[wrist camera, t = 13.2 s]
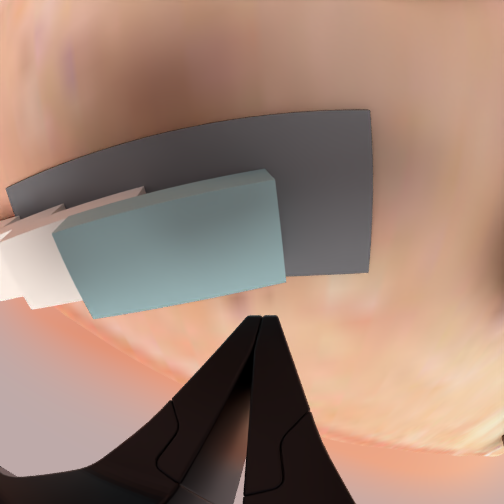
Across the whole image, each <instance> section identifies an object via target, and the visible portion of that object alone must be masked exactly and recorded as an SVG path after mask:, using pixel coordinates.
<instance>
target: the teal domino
mask: <svg viewBox="0 0 504 504" xmlns="http://www.w3.org/2000/svg"><path fill="white" fill-rule="evenodd" d="M52 236H53V238H54V241H55V243H56V245H57V248H58V250H59V252H60V254H61V257H62V259H63V261H64V263H65V265H66V268H67V270H68V272H69V274H70V276H71V278H72V280H73V282H74V284H75V286H76V288H77V290H78V292H79V294H80V296H81V297H82V299H83V301H84V303H85V305H86V307H87V308H88V310H89V312H90V314H91V316H92V317H93V319H98V318H104V317H110V316H116V315H122V314H128V313H134V312H140V311H146V310H151V309H157V308H162V307H168V306H173V305H178V304H184V303H189V302H194V301H199V300H204V299H209V298H214V297H219V296H224V295H229V294H234V293H238V292H243V291H248V290H253V289H257V288H262V287H266V286H271V285H275V284H280V283H284V282H286V275H285V265H284V255H283V245H282V236H281V227H280V218H279V209H278V200H277V192H276V184H275V179H274V178H273V177H272V176H271V175H270V174H269V173H268V171H267V170H266V169H259V170H254V171H248V172H243V173H237V174H232V175H227V176H222V177H217V178H212V179H207V180H202V181H198V182H193V183H189V184H184V185H180V186H175V187H171V188H167V189H163V190H159V191H155V192H151V193H147V194H143V195H139V196H135V197H132V198H128V199H124V200H121V201H117V202H114V203H110V204H107V205H103V206H100V207H97V208H93V209H90V210H87V211H84V212H80V213H77V214H74V215H71V216H68V217H67V218H66V219H65V220H64V221H63V222H62V223H61V224H60V225H59V226H58V227H57V228H56V229H55V230H54V231H53V233H52Z"/></svg>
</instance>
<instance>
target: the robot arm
mask: <svg viewBox="0 0 504 504" xmlns="http://www.w3.org/2000/svg"><path fill="white" fill-rule="evenodd" d="M245 459H246V467H245V481H244V493H243V494H244V496H245V497H243V504H356V503H355V502H354V500H353V499H352V497H351V495H350V493H349V491H348V489H347V488H346V486H345V484H344V482H343V480H342V479H341V477H340V475H339V473H338V471H337V470H336V468H335V466H334V464H333V462H332V460H331V459H330V457H329V455H328V452H327V450H326V448H325V446H324V445H323V442H322V440H321V437H320V435H319V432H318V430H317V427H316V424H315V422H314V419H313V416H312V413H311V412H310V407H309V405H308V402H307V399H306V396H305V393H304V390H303V387H302V384H301V381H300V379H299V376H298V373H297V370H296V367H295V364H294V361H293V358H292V355H291V353H290V350H289V347H288V344H287V341H286V338H285V335H284V332H283V330H282V327H281V324H280V321H279V318H278V316H276V315H265V316H263V317H262V316H260V315H250V316H247V317H246V318H245V319H244V320H243V322H242V323H241V324H240V325H239V326H238V327H237V328H236V329H235V331H234V332H233V333H232V334H231V335H230V336H229V337H228V338H227V339H226V341H225V342H224V343H223V344H222V345H221V346H220V347H219V348H218V349H217V351H216V352H215V353H214V354H213V355H212V356H211V357H210V358H209V359H208V360H207V361H206V363H205V364H204V365H203V366H202V367H201V368H200V369H199V370H198V371H197V372H196V373H195V374H194V376H193V377H192V378H191V379H190V380H189V381H188V382H187V383H186V384H185V385H184V386H183V387H182V388H181V389H180V390H179V392H178V393H177V394H176V395H175V396H174V397H173V398H172V400H170V401H169V402H168V403H167V404H166V405H165V406H164V407H163V408H162V409H161V410H160V411H159V412H158V413H157V414H156V415H155V416H154V417H153V418H152V419H151V420H150V421H149V422H148V423H146V424H145V425H144V426H143V427H142V428H140V429H139V430H138V431H137V432H136V433H135V434H133V435H132V436H131V437H129V438H128V439H127V440H126V441H124V442H123V443H122V444H121V445H119V446H118V447H117V448H115V449H114V450H113V451H111V452H110V453H109V454H107V455H106V456H105V457H103V458H102V459H100V460H99V461H97V462H96V463H94V464H92V465H90V466H87V467H84V468H81V469H77V470H72V471H66V472H59V473H53V474H45V475H37V476H27V477H17V476H15V475H14V474H12V473H10V472H9V471H7V470H5V469H4V468H2V467H1V466H0V504H233V503H234V499H235V496H236V491H237V488H238V485H239V481H240V477H241V473H242V470H243V466H244V462H245Z"/></svg>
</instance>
